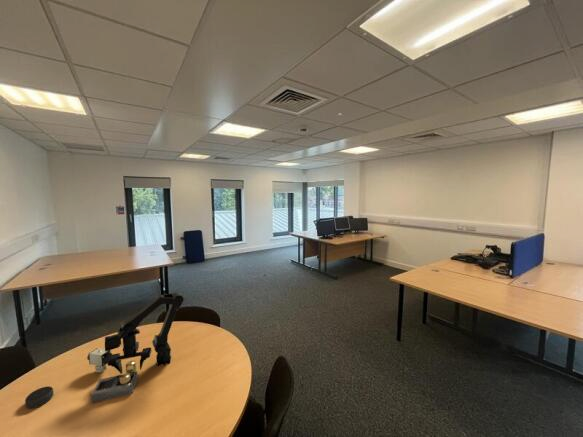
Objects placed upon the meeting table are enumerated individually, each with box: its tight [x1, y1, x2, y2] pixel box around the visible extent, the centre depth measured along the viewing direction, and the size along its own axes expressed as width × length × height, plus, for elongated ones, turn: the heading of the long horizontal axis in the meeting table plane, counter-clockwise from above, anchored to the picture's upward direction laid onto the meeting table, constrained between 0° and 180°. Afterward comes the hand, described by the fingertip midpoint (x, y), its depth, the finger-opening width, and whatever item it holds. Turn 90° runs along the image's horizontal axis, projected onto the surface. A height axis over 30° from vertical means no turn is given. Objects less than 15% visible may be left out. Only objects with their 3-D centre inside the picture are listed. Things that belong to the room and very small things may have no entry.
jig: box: [90, 371, 139, 404], centre depth 116 cm, size 16×10×4 cm, turn 110°
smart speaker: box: [24, 385, 54, 409], centre depth 110 cm, size 9×9×4 cm
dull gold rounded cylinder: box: [120, 373, 131, 385], centre depth 118 cm, size 4×4×6 cm
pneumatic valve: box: [86, 347, 113, 374], centre depth 130 cm, size 6×12×12 cm, turn 78°
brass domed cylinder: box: [125, 360, 137, 374], centre depth 127 cm, size 4×4×6 cm
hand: (131, 371), depth 127 cm, fingers open, 8 cm apart
